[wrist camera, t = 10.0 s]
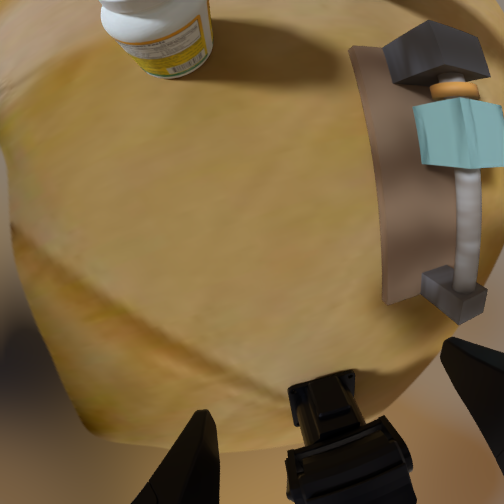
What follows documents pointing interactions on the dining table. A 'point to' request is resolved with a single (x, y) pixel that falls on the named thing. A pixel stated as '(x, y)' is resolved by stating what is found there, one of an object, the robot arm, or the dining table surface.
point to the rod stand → (423, 168)
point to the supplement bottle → (161, 33)
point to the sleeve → (460, 133)
